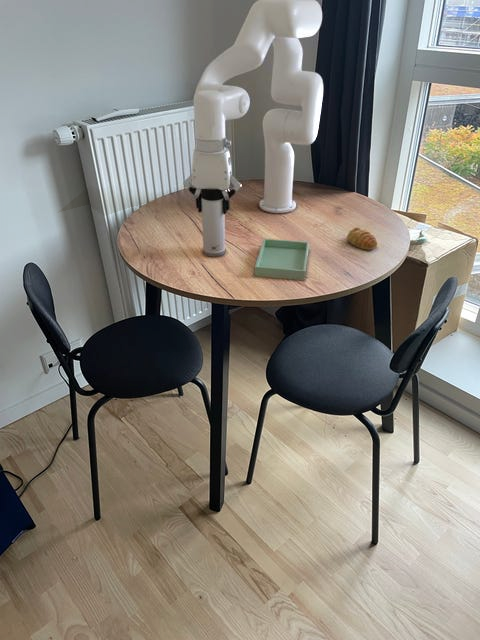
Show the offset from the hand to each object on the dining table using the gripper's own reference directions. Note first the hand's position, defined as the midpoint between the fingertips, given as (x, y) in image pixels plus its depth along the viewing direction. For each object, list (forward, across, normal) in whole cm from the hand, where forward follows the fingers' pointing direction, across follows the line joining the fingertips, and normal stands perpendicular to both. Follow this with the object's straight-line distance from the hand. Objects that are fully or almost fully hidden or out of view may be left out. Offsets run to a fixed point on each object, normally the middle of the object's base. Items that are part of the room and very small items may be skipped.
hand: (213, 210), depth 133 cm
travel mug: (+13, 0, 0) cm, 13 cm away
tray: (+13, -20, +3) cm, 24 cm away
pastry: (+13, -42, -13) cm, 46 cm away
